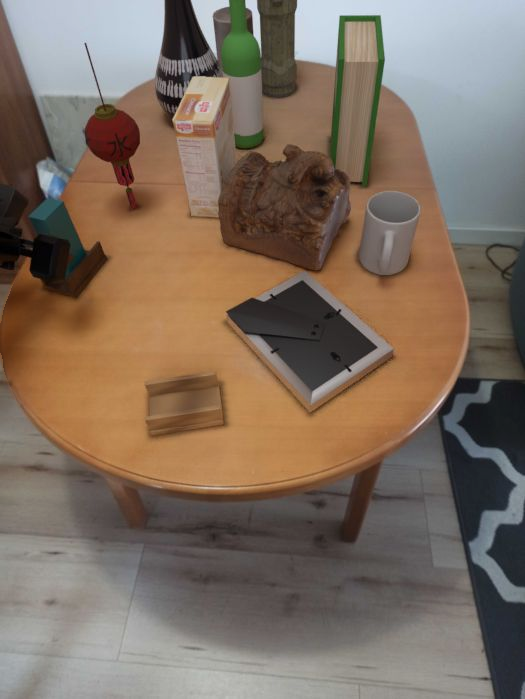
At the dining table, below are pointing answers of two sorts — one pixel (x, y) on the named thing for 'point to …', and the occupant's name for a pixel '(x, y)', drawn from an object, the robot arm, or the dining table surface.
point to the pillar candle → (226, 27)
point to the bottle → (243, 78)
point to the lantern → (113, 140)
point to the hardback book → (356, 94)
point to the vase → (182, 55)
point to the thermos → (278, 47)
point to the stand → (184, 403)
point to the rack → (80, 273)
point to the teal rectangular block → (58, 227)
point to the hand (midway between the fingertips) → (48, 252)
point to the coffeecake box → (205, 141)
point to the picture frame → (308, 339)
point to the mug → (388, 232)
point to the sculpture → (285, 206)
